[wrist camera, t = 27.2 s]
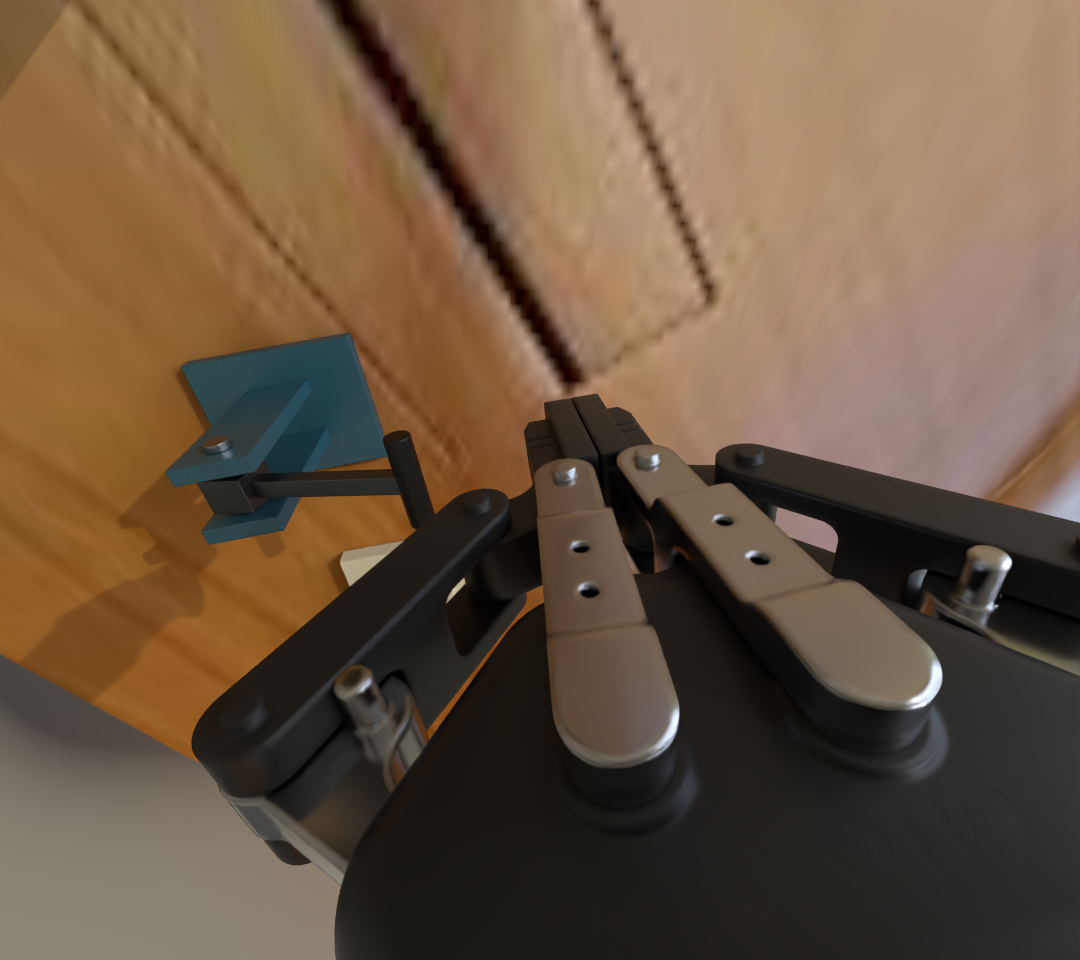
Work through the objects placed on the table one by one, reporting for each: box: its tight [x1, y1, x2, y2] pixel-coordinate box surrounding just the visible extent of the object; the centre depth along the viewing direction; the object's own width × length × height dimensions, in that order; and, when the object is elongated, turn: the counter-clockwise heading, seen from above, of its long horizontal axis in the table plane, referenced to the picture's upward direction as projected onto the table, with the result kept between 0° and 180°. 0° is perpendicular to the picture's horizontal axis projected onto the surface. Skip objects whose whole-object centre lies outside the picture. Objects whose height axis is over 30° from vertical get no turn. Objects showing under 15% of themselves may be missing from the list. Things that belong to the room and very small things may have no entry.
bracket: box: [165, 333, 387, 545], centre depth 35 cm, size 12×10×14 cm
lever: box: [197, 430, 435, 529], centre depth 29 cm, size 13×6×2 cm, turn 98°
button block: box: [340, 541, 465, 603], centre depth 49 cm, size 12×9×4 cm
